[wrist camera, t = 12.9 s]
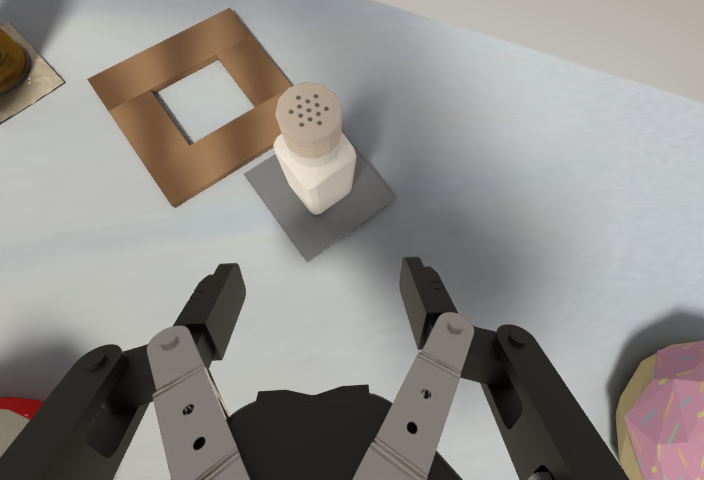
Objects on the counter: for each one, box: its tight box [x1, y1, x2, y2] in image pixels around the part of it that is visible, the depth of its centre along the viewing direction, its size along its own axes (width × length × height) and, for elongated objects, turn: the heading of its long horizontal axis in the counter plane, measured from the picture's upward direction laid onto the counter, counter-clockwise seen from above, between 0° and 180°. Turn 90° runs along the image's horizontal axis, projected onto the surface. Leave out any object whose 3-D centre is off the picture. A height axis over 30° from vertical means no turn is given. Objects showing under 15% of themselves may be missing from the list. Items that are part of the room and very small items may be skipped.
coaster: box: [244, 132, 395, 262], centre depth 22 cm, size 9×9×1 cm
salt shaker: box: [273, 82, 356, 215], centre depth 17 cm, size 4×4×10 cm
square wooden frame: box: [87, 8, 292, 208], centre depth 23 cm, size 14×14×1 cm
